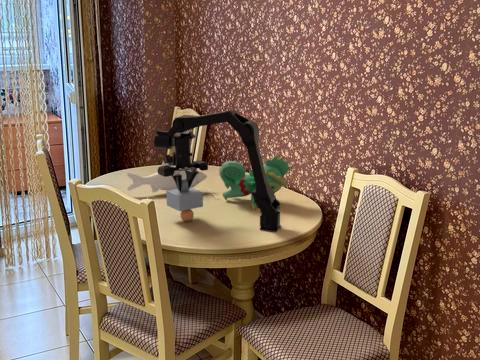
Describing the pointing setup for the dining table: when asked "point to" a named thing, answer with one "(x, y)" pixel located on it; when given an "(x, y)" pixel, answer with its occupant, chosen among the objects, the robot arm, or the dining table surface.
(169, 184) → the fish
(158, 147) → the robot arm
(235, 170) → the toy
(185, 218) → the ball
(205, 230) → the dining table surface
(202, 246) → the dining table surface
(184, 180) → the block with rounded knob
